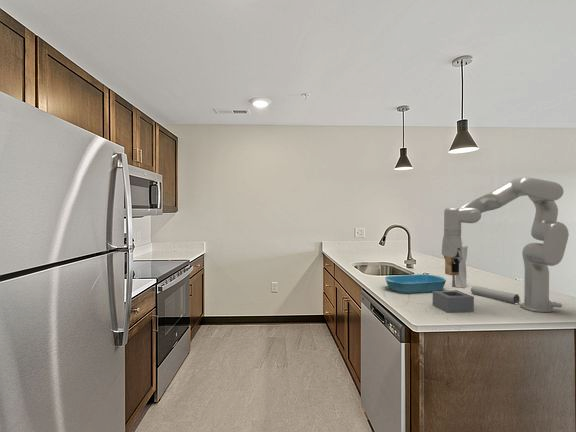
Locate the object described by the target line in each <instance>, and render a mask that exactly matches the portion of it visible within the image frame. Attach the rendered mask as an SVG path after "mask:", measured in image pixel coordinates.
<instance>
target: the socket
mask: <svg viewBox="0 0 576 432" xmlns="http://www.w3.org/2000/svg"><path fill="white" fill-rule="evenodd" d="M432 306H433V307H436V308H437V309H440V310H441V311H444V312H446V313H448V314H449V313H450V314H451V313H452V314H453V313H471V312H472V313H473V312H474V311H475V297H474V296H473V295H470V294H469V293H465V292H463V291H459V290H456V289H455V290H440V291H433V292H432Z"/></svg>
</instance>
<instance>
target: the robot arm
mask: <svg viewBox="0 0 576 432" xmlns="http://www.w3.org/2000/svg"><path fill="white" fill-rule="evenodd" d="M563 195H564V187H563V186H562V185H561V184H559V183H558V182H555V181H549V180H544V179H540V178H535V177H527V176H526V177H525V176H524V177H520V178H514V179H511V180H508V181H507V182H506V183H504V184H502V185H501V186H499V187H497V188H496V189H493V190H492V191H490V192H489V193H486V194H484V195H482V196H479V197H478V198H475V199H474V200H471V201H469V202H468V203H466V204H464V205H463V206H460V207H447V208H445V209H444V211H443V213H444V214H443V238H442V242H441V243H442V244H441V255H442V256H443V257H444V259H445V256H447V257H451V258H452V260H453V264H452V272H459V264H460V261H461V260H462V259H463V257H462V245H463V244H462V242H463V241H462V223H463V224H476V223H477V222H479V221H480V220H481V219H482V213H486V212H489V211H493V210H494V211H495V210H498V209H500V208H502V207H504V206H506V205H508V204H509V203H510V202H512V201H514V200H516V199H518V198H520V197H524V196H527V197H528V198H529V200H530V201H531V202H532V203H533V205H534V206H535V213H534V218H533V223H532V225H531V226H532V227H531V230H530V235H531V237H532V238H533V239H535V240H536V241H537V240H538V241H542V242H543V243H539V242H529V243H528V244H525V245H524V247H523V248H522V259H523V265H524V267H523V268H524V286H523V287H524V290H523V291H524V295H523V296H524V298H523V299H524V301H523V302H522V303H520V308H521V309H524V310H527V311H531V312H538V313H539V312H540V313H552V312H554V308H562V307H563V304H562V303H561V302H560V303H559V302H555V301H551V300H550V270H549V266H550V267H553V266H554V267H555V266H557V265H559V264H560V263H561V261H562V260H563V258H564V256H565V251H566V248H567V244H568V240H569V229H568V227H567V226H566V225H565V224H564V222H563V223H562V222H560V221H557V220H558V215H559V208H558V205H557V203H556V202H555V201H557V200H560V199H561V198H562V197H563ZM455 256H457V257H455ZM455 259H456V260H455Z"/></svg>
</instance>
